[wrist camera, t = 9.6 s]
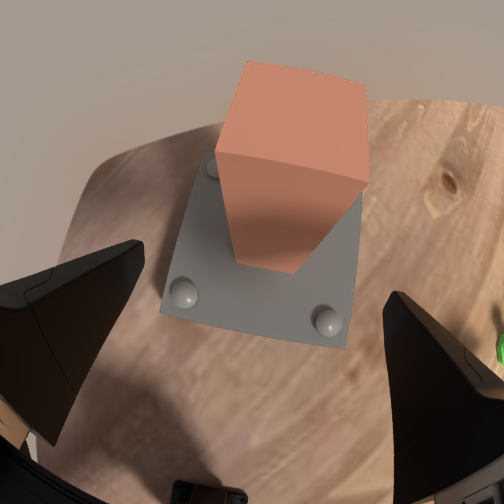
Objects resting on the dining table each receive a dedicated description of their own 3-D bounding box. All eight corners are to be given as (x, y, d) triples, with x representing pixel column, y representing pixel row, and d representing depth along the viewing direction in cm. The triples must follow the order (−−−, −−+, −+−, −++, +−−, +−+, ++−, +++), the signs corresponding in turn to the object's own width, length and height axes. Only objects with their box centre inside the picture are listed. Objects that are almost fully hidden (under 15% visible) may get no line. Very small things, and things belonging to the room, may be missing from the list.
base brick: (332, 346, 21) (347, 349, 17) (170, 314, 21) (156, 312, 18) (351, 197, 24) (364, 179, 21) (209, 169, 25) (203, 147, 21)
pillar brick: (293, 274, 19) (369, 182, 7) (235, 262, 19) (214, 150, 7) (302, 220, 20) (365, 85, 8) (247, 209, 20) (247, 60, 8)
